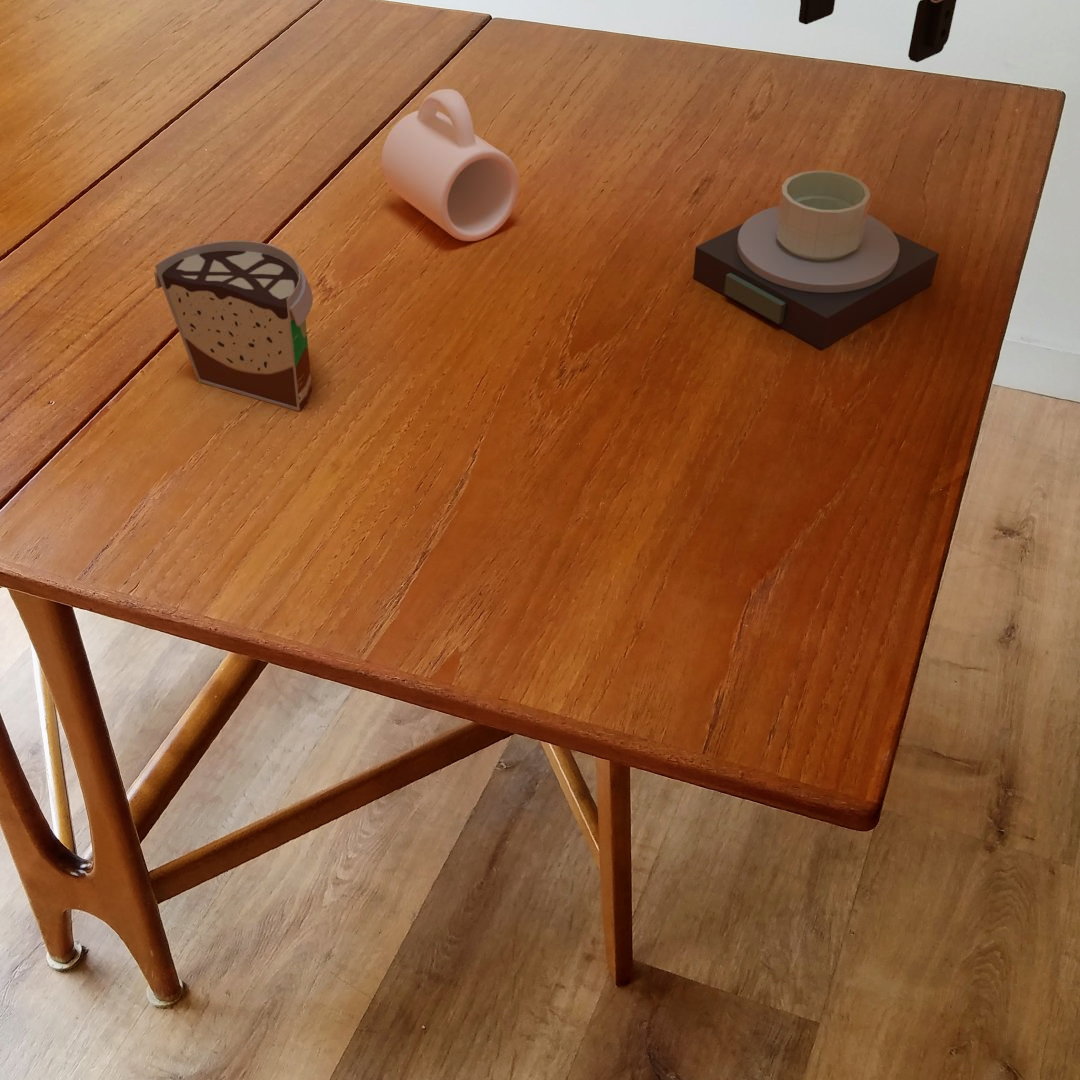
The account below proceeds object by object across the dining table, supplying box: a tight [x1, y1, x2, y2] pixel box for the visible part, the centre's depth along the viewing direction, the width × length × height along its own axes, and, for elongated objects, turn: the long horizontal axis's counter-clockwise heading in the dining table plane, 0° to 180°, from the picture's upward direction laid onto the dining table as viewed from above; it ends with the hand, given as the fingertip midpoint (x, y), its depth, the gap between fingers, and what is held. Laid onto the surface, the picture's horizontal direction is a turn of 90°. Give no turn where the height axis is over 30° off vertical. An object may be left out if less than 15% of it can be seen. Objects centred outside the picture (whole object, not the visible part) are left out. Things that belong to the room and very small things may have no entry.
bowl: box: [776, 169, 871, 260], centre depth 93 cm, size 7×7×4 cm
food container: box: [154, 240, 314, 413], centre depth 86 cm, size 12×6×10 cm, turn 65°
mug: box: [380, 88, 520, 242], centre depth 102 cm, size 8×10×12 cm
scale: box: [692, 205, 940, 351], centre depth 95 cm, size 14×14×4 cm
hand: (868, 36), depth 82 cm, fingers open, 9 cm apart
